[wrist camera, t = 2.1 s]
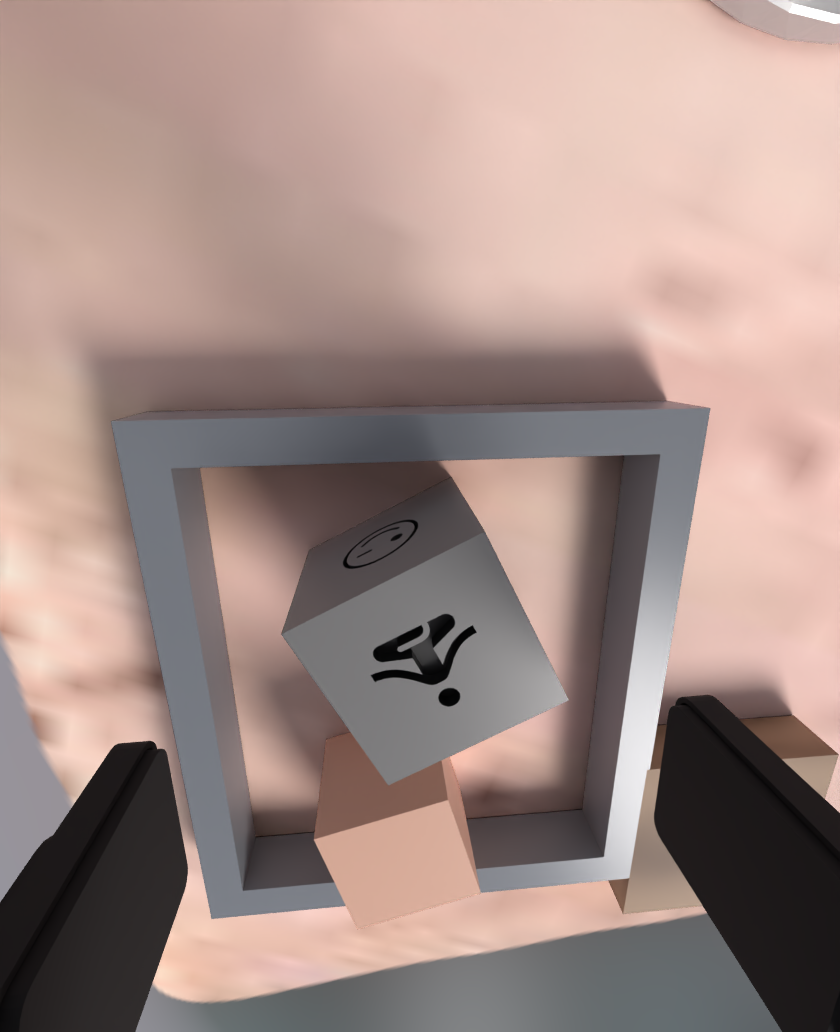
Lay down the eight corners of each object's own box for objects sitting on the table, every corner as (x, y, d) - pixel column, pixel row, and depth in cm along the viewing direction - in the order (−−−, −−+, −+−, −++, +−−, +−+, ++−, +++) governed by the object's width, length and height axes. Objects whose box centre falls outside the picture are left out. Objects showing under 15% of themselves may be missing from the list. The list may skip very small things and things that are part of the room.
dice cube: (451, 476, 15) (484, 531, 11) (514, 603, 17) (569, 700, 12) (309, 549, 16) (281, 634, 11) (384, 667, 17) (388, 785, 13)
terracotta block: (326, 737, 18) (313, 839, 14) (432, 706, 18) (448, 800, 14) (360, 817, 19) (357, 929, 16) (460, 787, 19) (480, 893, 16)
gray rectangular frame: (146, 411, 14) (110, 421, 12) (668, 400, 15) (709, 408, 13) (227, 863, 19) (211, 919, 17) (607, 829, 21) (631, 878, 19)
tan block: (620, 728, 19) (647, 769, 17) (793, 715, 20) (838, 754, 18) (600, 863, 21) (623, 914, 19) (757, 848, 22) (794, 896, 20)
